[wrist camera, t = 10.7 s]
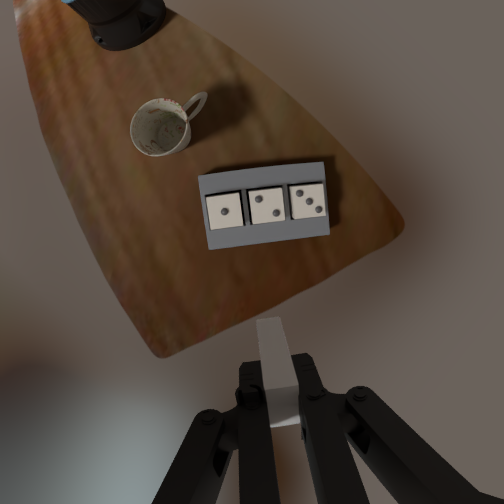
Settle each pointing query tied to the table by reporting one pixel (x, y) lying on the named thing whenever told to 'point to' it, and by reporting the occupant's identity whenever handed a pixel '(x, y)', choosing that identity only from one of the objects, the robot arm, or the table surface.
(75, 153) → the table surface
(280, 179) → the board
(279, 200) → the white die
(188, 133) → the mug
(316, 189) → the white block with dots
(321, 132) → the table surface
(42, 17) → the table surface
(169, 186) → the table surface
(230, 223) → the white block
